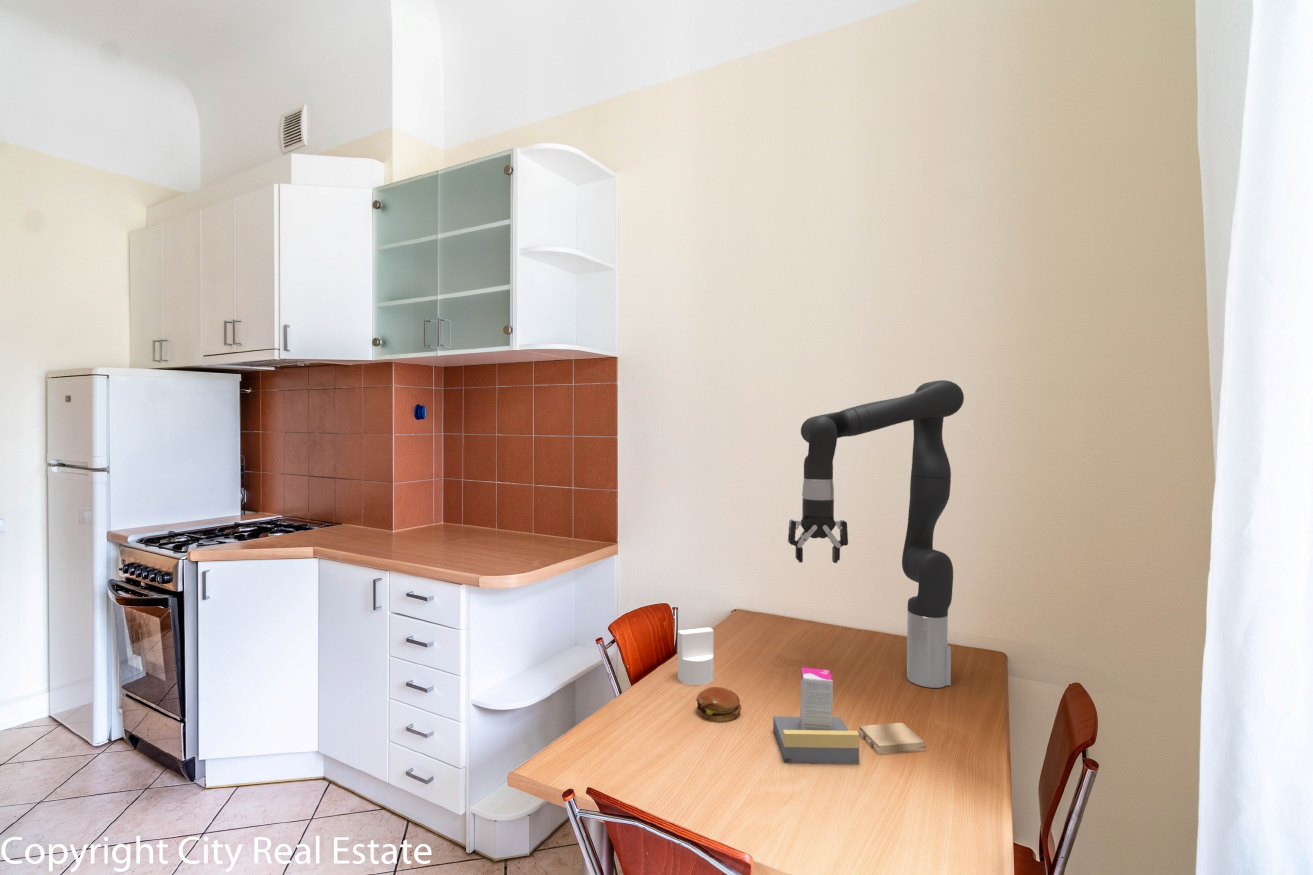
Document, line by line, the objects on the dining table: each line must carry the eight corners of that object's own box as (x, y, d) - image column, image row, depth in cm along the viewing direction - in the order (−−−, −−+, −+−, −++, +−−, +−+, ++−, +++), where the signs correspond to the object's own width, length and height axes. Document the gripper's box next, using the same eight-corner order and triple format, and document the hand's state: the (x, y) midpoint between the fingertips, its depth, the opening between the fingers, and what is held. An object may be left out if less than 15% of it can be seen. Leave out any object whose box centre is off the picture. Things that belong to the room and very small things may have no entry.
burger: (735, 702, 138) (736, 682, 138) (744, 722, 128) (744, 701, 128) (693, 703, 137) (693, 683, 137) (699, 724, 128) (699, 702, 128)
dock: (840, 731, 124) (840, 705, 124) (858, 763, 112) (859, 734, 112) (773, 730, 125) (773, 704, 125) (784, 762, 113) (784, 733, 113)
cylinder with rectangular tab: (705, 668, 157) (705, 623, 156) (719, 682, 148) (719, 634, 148) (672, 673, 154) (673, 626, 154) (685, 687, 145) (685, 638, 145)
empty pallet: (903, 731, 125) (903, 722, 125) (925, 751, 117) (925, 741, 117) (858, 735, 123) (858, 725, 123) (878, 755, 116) (878, 745, 116)
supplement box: (832, 739, 115) (833, 680, 115) (801, 736, 116) (801, 678, 116) (829, 724, 121) (829, 668, 121) (799, 722, 122) (799, 666, 122)
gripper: (792, 498, 144) (791, 565, 144) (851, 498, 144) (851, 565, 144) (786, 495, 152) (785, 558, 152) (842, 495, 151) (842, 559, 152)
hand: (817, 562), depth 148 cm, fingers open, 8 cm apart
